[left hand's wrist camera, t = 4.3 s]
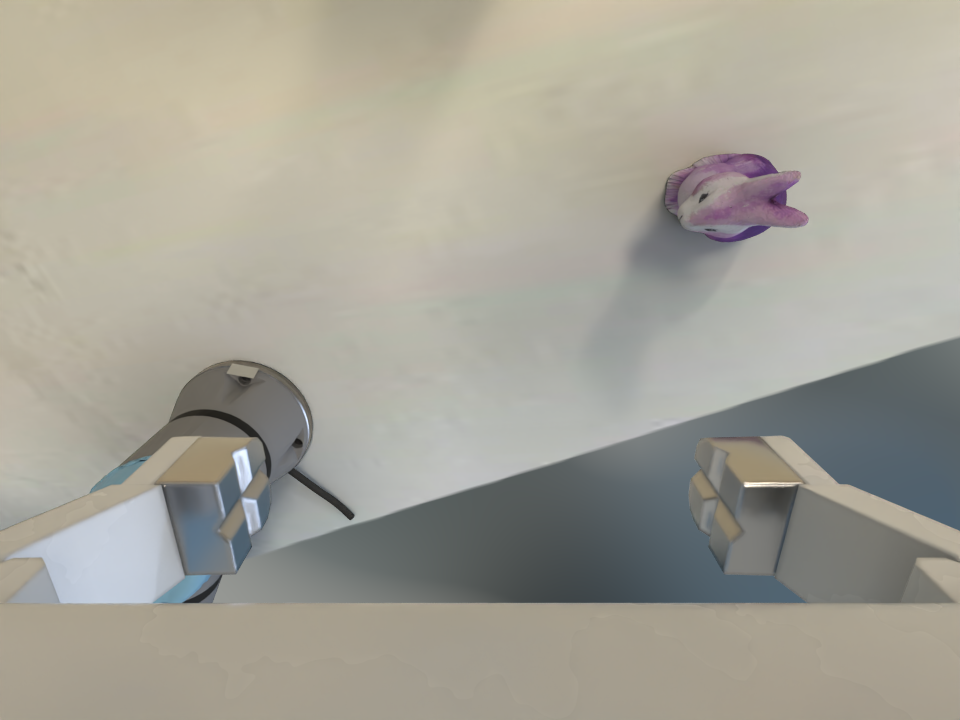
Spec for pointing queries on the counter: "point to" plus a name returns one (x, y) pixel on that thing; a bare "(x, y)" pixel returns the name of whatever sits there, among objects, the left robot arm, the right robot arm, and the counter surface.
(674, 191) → the figurine
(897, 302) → the counter surface
